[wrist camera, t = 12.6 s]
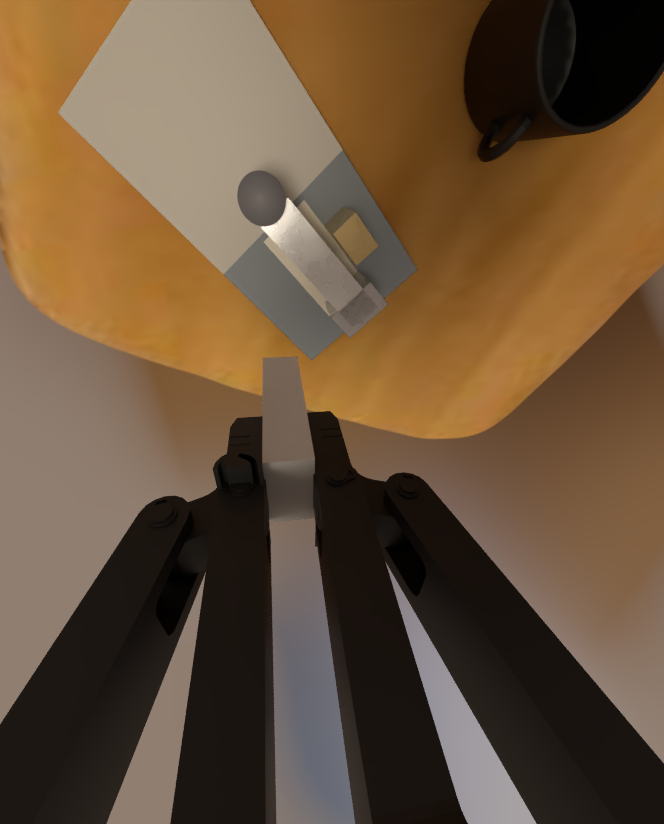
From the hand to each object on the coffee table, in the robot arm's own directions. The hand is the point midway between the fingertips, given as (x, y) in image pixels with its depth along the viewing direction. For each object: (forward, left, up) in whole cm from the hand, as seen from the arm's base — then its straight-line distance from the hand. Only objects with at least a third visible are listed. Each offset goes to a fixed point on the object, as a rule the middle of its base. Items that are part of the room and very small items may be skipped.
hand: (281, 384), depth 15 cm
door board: (-4, -4, -21) cm, 22 cm away
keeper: (-8, +2, -20) cm, 21 cm away
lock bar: (-4, +2, -19) cm, 19 cm away
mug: (-24, +2, -21) cm, 32 cm away
